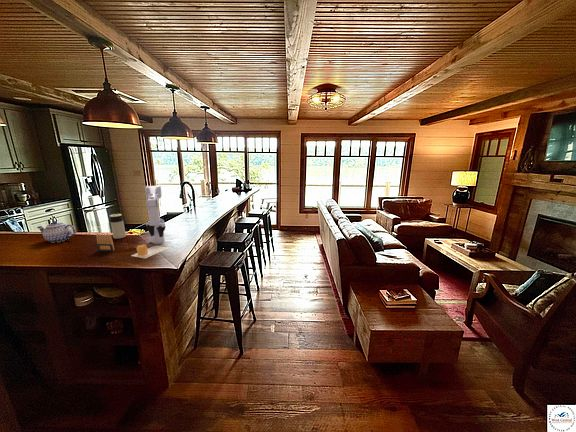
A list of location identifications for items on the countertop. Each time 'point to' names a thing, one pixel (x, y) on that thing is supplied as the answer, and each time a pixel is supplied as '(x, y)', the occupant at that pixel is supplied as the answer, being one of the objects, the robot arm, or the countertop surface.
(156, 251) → the mounting plate
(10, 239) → the countertop surface
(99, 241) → the tan upright slab
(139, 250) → the cupcake
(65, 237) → the teapot
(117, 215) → the travel mug
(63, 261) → the countertop surface
